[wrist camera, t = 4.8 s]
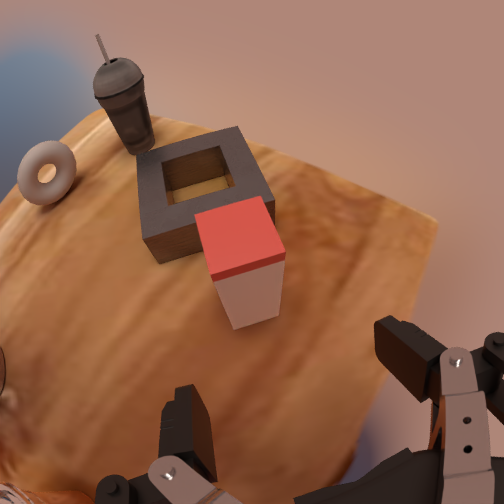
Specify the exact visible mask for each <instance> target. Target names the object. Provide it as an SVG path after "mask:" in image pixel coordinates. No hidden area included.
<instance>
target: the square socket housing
mask: <svg viewBox="0 0 504 504" xmlns="http://www.w3.org/2000/svg"><path fill="white" fill-rule="evenodd" d="M136 160H137V181H138V196H139V208H140V219H141V229H142V238H143V241H144V242H145V244H146V245H147V247H148V248H149V250H150V251H151V253H152V254H153V256H154V257H155V259H156V260H157V262H158V263H159V264H161V263H165V262H168V261H171V260H174V259H178V258H181V257H184V256H187V255H191V254H194V253H197V252H200V251H204V250H203V246H202V242H201V239H200V235H199V231H198V227H197V223H196V219H195V214H198V213H202V212H205V211H208V210H212V209H215V208H218V207H222V206H225V205H229V204H232V203H236V202H239V201H243V200H247V199H250V198H254V197H257V196H261V197H262V200H263V202H264V204H265V206H266V208H267V211H268V213H269V215H270V217H271V220H272V222H273V224H274V226H275V199H274V197H273V195H272V193H271V190H270V188H269V186H268V184H267V182H266V180H265V178H264V176H263V174H262V172H261V170H260V168H259V166H258V164H257V162H256V161H255V159H254V157H253V155H252V153H251V151H250V149H249V147H248V145H247V143H246V141H245V139H244V137H243V135H242V133H241V132H240V130H239V128H238V126H235V127H231V128H227V129H223V130H219V131H215V132H211V133H207V134H203V135H200V136H196V137H193V138H189V139H186V140H182V141H179V142H175V143H172V144H169V145H166V146H163V147H159V148H156V149H153V150H150V151H147V152H144V153H142V154H139V155H136ZM223 175H225V177H226V180H227V183H228V185H229V188H227V189H224V190H220V191H216V192H213V193H210V194H206V195H203V196H199V197H196V198H193V199H189V200H186V201H183V202H180V203H176V204H174V199H173V194H172V191H173V190H176V189H179V188H182V187H185V186H189V185H192V184H195V183H199V182H202V181H206V180H209V179H213V178H216V177H220V176H223Z"/></svg>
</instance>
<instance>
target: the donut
mask: <svg viewBox="0 0 504 504" xmlns="http://www.w3.org/2000/svg"><path fill="white" fill-rule="evenodd" d="M46 164H54V165H55V166H56V175H55V177H54V178H53V179H52V180H51V181H50V182H48V183H41V182H39V180H38V177H37V176H38V172H39V170H40V169H41V167H42V166H44V165H46ZM75 174H76V160H75V157H74V155H73V152H72V151H71V150H70V149H69V147H68V146H67V145H65V144H63V143H61V142H59V141H46V142H42V143H39V144H38V145H36V146H34V147H33V148H31V149H30V150H29V152H28V153H27V154H26V155H25V156H24V158H23V160H22V162H21V164H20V166H19V170H18V176H17V180H18V187H19V190H20V192H21V194H22V195H23V197H24V198H25V199H26V200H28V201H29V202H30V203H33V204H36V205H48V204H51V203H54V202H56V201H58V200H59V199H60V198H62V197H63V196H64V195H65V194H66V193H67V192H68V190H69V189H70V187H71V185H72V183H73V182H74V178H75Z"/></svg>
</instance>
